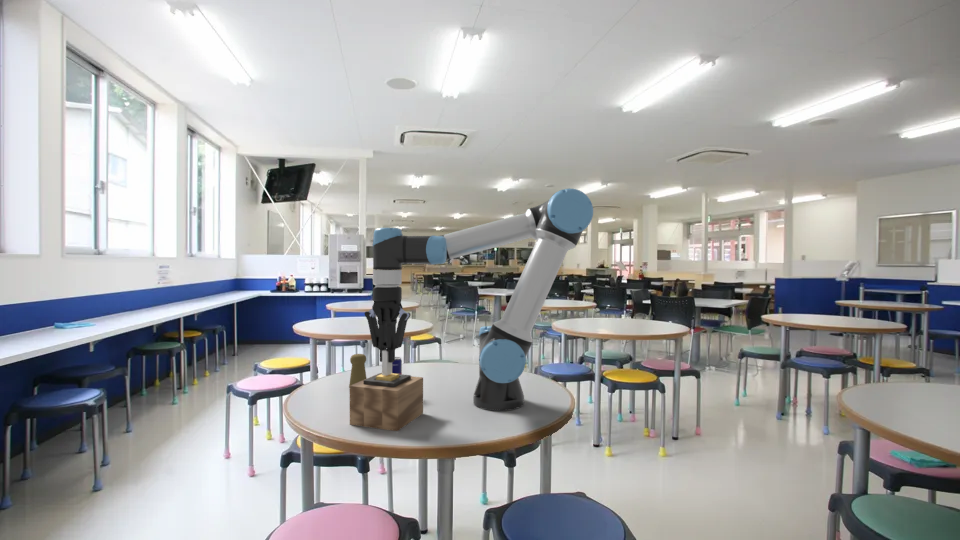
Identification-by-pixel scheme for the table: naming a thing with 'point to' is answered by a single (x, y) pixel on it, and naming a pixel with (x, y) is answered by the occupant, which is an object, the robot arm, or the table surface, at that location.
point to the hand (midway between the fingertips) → (387, 374)
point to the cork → (357, 368)
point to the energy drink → (397, 366)
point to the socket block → (386, 402)
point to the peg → (387, 377)
